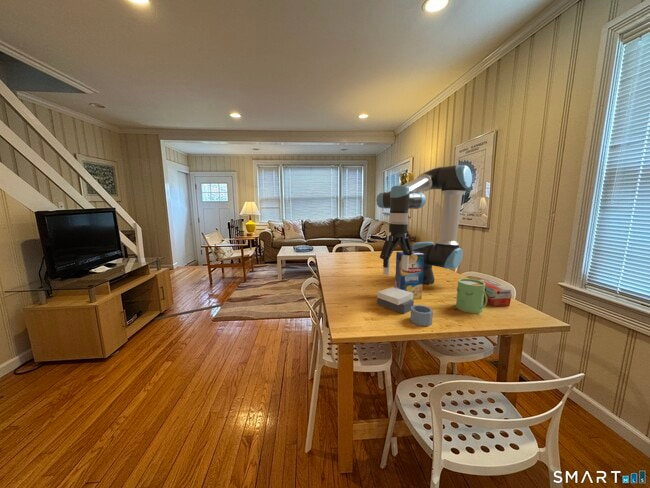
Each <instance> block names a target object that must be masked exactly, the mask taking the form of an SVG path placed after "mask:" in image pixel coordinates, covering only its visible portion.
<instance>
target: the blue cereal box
mask: <svg viewBox="0 0 650 488" xmlns="http://www.w3.org/2000/svg"><path fill="white" fill-rule="evenodd" d="M395 255H396V257H395V275H394V276H395V277H394V279H395V280H394V288H398V289H401V290H404V291H408V292H411V293H413V299H412V300H422V296H423V285H424V284H423V268H424V254H423V253H420V252H418V251H413V252H412V255H411V256H410V255H409V263H408V270H404V269H402V258H403V255H404V253H403V251H396V253H395Z"/></svg>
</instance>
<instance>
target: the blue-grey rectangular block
mask: <svg viewBox="0 0 650 488" xmlns="http://www.w3.org/2000/svg"><path fill="white" fill-rule="evenodd" d="M376 299H377V300H376V301H377V302H376V304H377V305H379V306H382V307H385V308H387V309H389V310H392V311H395V312H397V313H400V314H403V315H405V314H407V313H409V312H411V306H414V302H415V301H414V299H411V300H409V301H407V302H404V303H402V304H400V305H397V304H394V303H391V302H388V301H386V300H383V299H380V298H377V297H376Z"/></svg>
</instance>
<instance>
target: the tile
mask: <svg viewBox="0 0 650 488" xmlns="http://www.w3.org/2000/svg"><path fill="white" fill-rule="evenodd" d="M376 294H377V295H376V299H377V298H380V299H383V300H386V301H388V302H391V303H394V304H397V305H400V304H402V303H404V302H407V301H409V300H414V299H413V293H411V292H408V291H404V290H401V289H398V288H395V286H391V287H388V288H385V289H382V290H380V291H379V290H378V291H377V293H376Z"/></svg>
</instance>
